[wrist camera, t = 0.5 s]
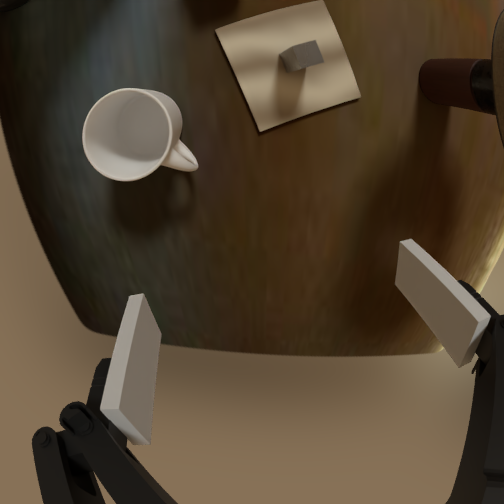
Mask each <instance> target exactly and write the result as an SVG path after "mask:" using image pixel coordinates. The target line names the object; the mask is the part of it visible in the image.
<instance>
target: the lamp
mask: <svg viewBox="0 0 504 504" xmlns="http://www.w3.org/2000/svg"><path fill="white" fill-rule="evenodd" d="M419 81H420V85H421V88H422V91H423V93H424V94H425V96H426V97H427V98H428V99H429V100H431V101H432V102H434V103H437V104H442V105H448V106H454V107H459V108H464V109H469V110H474V111H479V112H483V113H488V114H492V115H496V118H497V123H498V128H499V132H500V136H501V140H502V144H503V147H504V10H503V11H502V12H501V14H500V16H499V18H498V20H497V23H496V26H495V30H494V35H493V42H492V55H491V60H490V59H430V60H428V61H426V62H425V63H424V64H423V65H422V67H421V69H420V74H419Z"/></svg>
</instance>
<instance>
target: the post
mask: <svg viewBox="0 0 504 504" xmlns="http://www.w3.org/2000/svg"><path fill="white" fill-rule="evenodd" d="M279 56H280V58H281V61H282V63H283V65H284V68H285V70H286V73H290V72H293V71H296V70H300V69H303V68H306V67H310V66H313V65H317V64H320V63H324V59H323V57H322V54H321V52H320V50H319V47H318V45H317V42H316V40H313V41H309V42H305V43H302V44H298V45H294V46H292V47H290V48H288V49H287V50H285V51H283V52H282V53H280V54H279Z"/></svg>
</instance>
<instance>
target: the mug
mask: <svg viewBox="0 0 504 504" xmlns="http://www.w3.org/2000/svg"><path fill="white" fill-rule="evenodd" d="M181 131H182V116H181V113H180V110H179V108H178V106H177V105H176V103H175V102H174V101H173V100H172V99H171V98H170V97H168V96H167V95H165V94H163V93H160V92H157V91H152V90H144V89H135V88H124V89H119V90H116V91H113V92H111V93H109V94H107V95H105V96H104V97H102V98H101V99H100V100H99V101H98V102H97V103H96V104H95V105H94V106H93V107H92V109H91V110H90V112H89V114H88V115H87V117H86V120H85V123H84V127H83V135H82V137H83V147H84V151H85V154H86V156H87V158H88V160H89V162H90V163H91V164H92V166H93V167H94V168H95V169H96V170H97V171H98V172H100V173H101V174H102V175H104V176H106V177H108V178H110V179H113V180H117V181H134V180H138V179H141V178H143V177H146V176H147V175H149V174H151V173H152V172H153V171H155V170H156V169H157V168H158V167H159V166H160V165H163V166H167V167H170V168H173V169H177V170H182V171H195V170H197V168H198V163H197V160H196V158H195V157H194V155H193V154H192V153H191V152H190V150H189V149H188V148H187V147H186V146H185V145H184V144H183V143H182V142H181V141H180V139H179V138H180V134H181Z"/></svg>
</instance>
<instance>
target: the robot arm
mask: <svg viewBox="0 0 504 504" xmlns="http://www.w3.org/2000/svg"><path fill="white" fill-rule="evenodd" d="M28 1H29V0H0V11H9V10H12V9H15V8H17V7H19V6H21V5H23V4H25V3H26V2H28ZM395 285H396V286H397V287H398V289H399V290H400V291H401V292H402V294H403V295H404V296H405V297H406V298H407V300H408V301H409V302H410V303H411V305H412V306H413V307H414V308H415V310H416V311H417V312H418V314H419V315H420V316H421V317H422V319H423V320H424V321H425V323H426V324H427V325H428V326H429V328H430V329H431V330H432V332H433V333H434V334H435V336H436V337H437V338H438V340H439V341H440V342H441V344H442V345H443V347H444V348H445V349H446V351H447V352H448V353H449V355H450V356H451V358H452V359H453V360H454V362H455V363H456V365H457V366H458V367H459V368H460V367H461V366H464V365H465V364H467V363H469V362H471V360H472V358H473V356H474V354H475V353H476V354H477V355H478V357H479V358H478V360H477V362H476V364H475V366H474V368H473V370H472V374H473V373H474V371H475V370H476V377H475V386H474V394H473V402H472V408H471V415H470V421H469V426H468V431H467V436H466V441H465V446H464V450H463V455H462V459H461V462H460V466H459V470H458V473H457V477H456V480H455V484H454V487H453V490H452V493H451V496H450V498H449V499H448V501H447V502H446V504H504V315H499V314H498V313H497V312H496V311H495V310H494V309H493V308H492V307H491V306H490V305H489V304H488V303H487V302H486V300H484V298H481V296H480V294H479V293H478V292H477V293H476V290H475V289H474V288H473V287H472V286H470V285H469V284H468V283H466V282H464V281H462V280H459V281H456V280H455V279H454V278H453V277H452V276H451V275H450V274H449V273H448V272H447V271H446V270H445V269H444V268H443V267H442V266H441V265H440V264H439V263H438V262H436V261H435V260H434V259H433V258H432V257H431V256H430V255H429V254H428V253H427V252H426V251H424V250H423V249H422V248H421V247H420V246H419V245H418V244H417V243H415V242H414V241H413V240H412V239H409V240H404V241H400V244H399V255H398V264H397V272H396V280H395ZM160 341H161V332H160V330H159V328H158V325H157V323H156V321H155V319H154V316H153V314H152V312H151V310H150V307H149V305H148V303H147V300H146V298H145V295H144V293H143V294H137V295H132V296H129V299H128V303H127V306H126V309H125V313H124V316H123V319H122V323H121V326H120V330H119V333H118V337H117V340H116V344H115V348H114V352H113V356H112V358H105V359H102V360H101V361H100V363H99V364H98V366H97V367H96V370H95V374H94V379H93V381H92V387H91V388H90V392H89V396H88V400H87V404H86V405H85V404H84V403H82V402H79V401H78V402H72V403H70V404H68V405H67V406H66V407H65V408H64V409H63V410H62V412H61V414H60V418H59V421H60V424H61V426H62V427H63V428H64V429H65V430H63V431H60V432H55V431H54V430H53V429H52V428H50V427H42V428H40V429H39V430H37V431H36V433H35V434H34V436H33V438H32V448H33V454H34V461H35V466H36V472H37V476H38V481H39V486H40V490H41V495H42V499H43V503H44V504H105V501H104V499H103V496H102V494H101V491H100V488H99V486H98V483H97V480H96V478H95V475H94V472H95V474H96V475H97V477H98V479H99V480H100V482H101V483H102V484H103V486H104V487H105V489H106V490H107V492H108V493H109V494H110V496H111V497H112V498H113V500H114V501H115V503H116V504H178V503H177V502H176V501H175V500H174V499H173V498H172V497H171V496H170V495H169V494H168V493H167V492H166V491H165V490H164V489H163V488H162V487H161V486H160V485H159V484H158V483H157V482H156V480H155V479H154V478H153V477H152V476H151V475H150V474H149V473H148V472H147V470H146V469H145V468H144V467H143V466H142V465H141V463H140V462H139V461H138V460H137V459H136V457H135V456H134V455H133V454H132V452H131V451H130V450H129V449H128V448H127V447H126V446H127V439H128V440H129V441H130V442H131V443H132V444H133V445H150V444H151V430H152V416H153V405H154V393H155V384H156V374H157V365H158V356H159V349H160ZM93 471H94V472H93Z"/></svg>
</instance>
